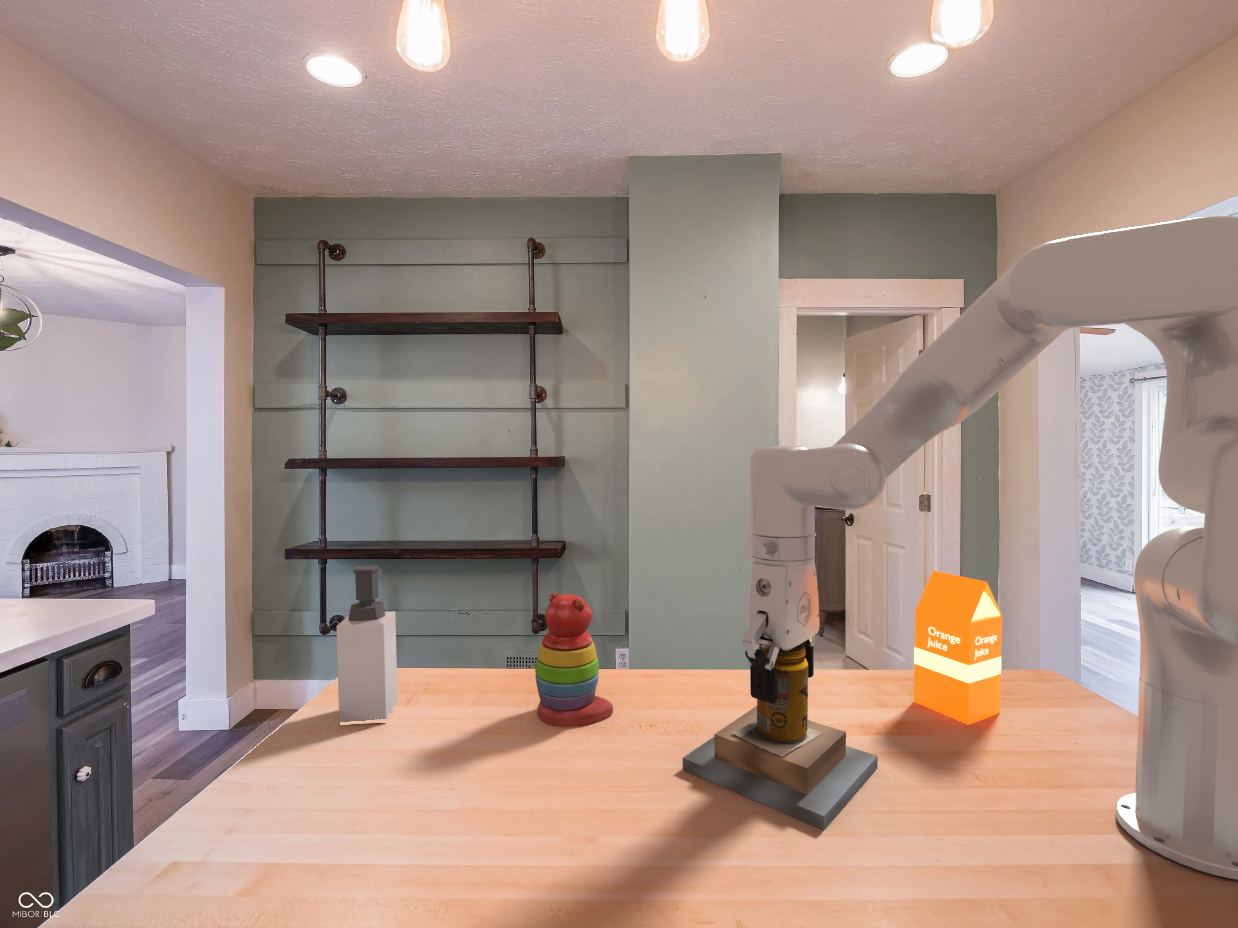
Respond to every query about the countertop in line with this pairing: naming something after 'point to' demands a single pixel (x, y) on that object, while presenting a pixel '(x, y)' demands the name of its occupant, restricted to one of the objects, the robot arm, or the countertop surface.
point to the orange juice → (958, 648)
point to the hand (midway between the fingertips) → (783, 686)
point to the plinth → (785, 796)
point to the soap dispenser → (367, 654)
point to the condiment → (783, 707)
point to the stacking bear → (568, 666)
